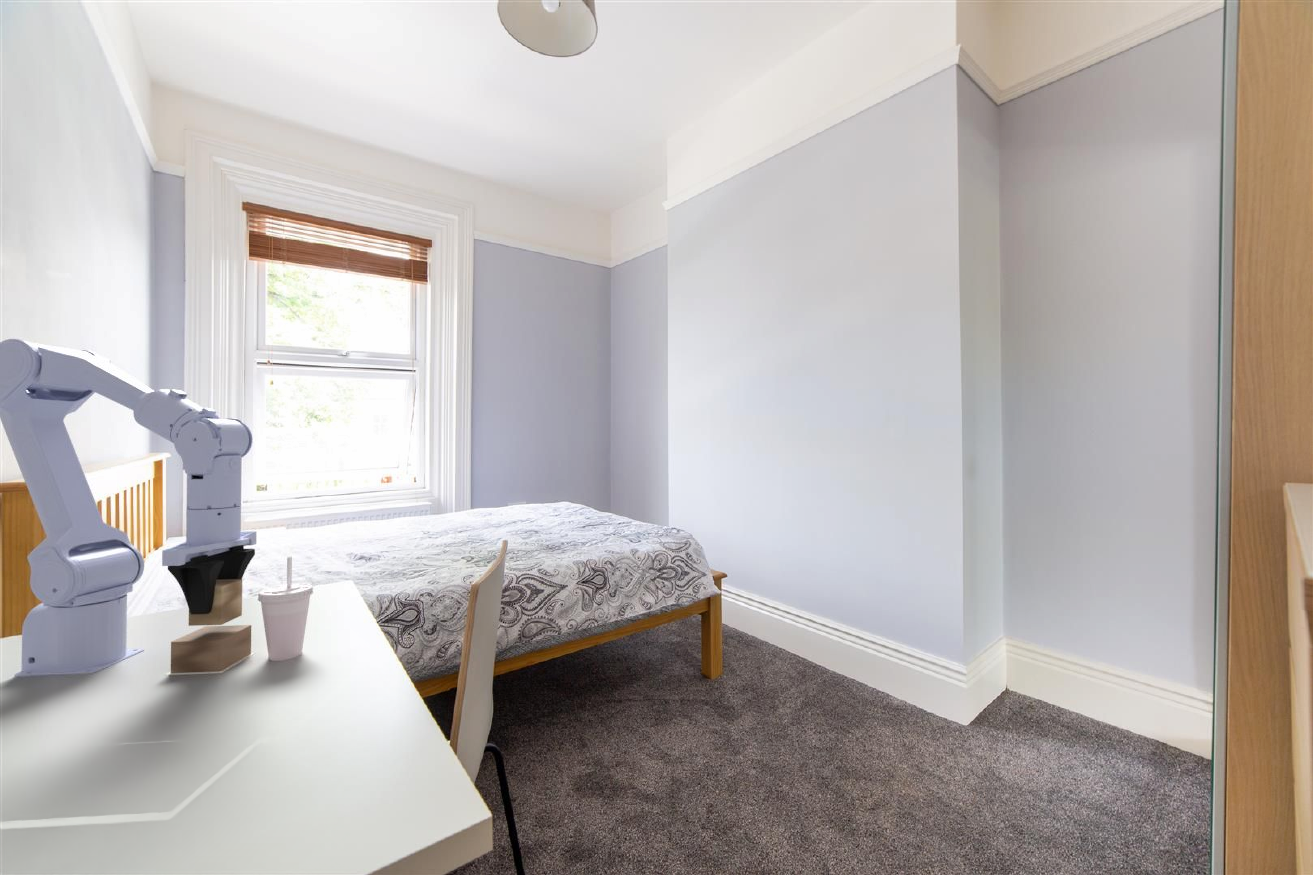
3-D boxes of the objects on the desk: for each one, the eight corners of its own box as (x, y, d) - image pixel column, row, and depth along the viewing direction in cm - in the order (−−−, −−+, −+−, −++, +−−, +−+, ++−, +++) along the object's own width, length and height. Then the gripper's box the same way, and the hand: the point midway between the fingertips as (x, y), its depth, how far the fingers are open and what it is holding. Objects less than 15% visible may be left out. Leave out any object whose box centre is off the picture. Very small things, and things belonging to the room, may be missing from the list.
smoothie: (323, 650, 78) (324, 553, 78) (289, 668, 72) (289, 563, 72) (282, 649, 79) (283, 552, 79) (244, 666, 72) (245, 562, 73)
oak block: (221, 624, 71) (221, 586, 71) (188, 625, 71) (189, 587, 71) (241, 615, 75) (242, 579, 75) (211, 616, 75) (211, 579, 75)
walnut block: (170, 673, 69) (170, 641, 69) (205, 655, 75) (205, 626, 75) (220, 671, 70) (220, 640, 70) (251, 653, 76) (251, 624, 76)
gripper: (206, 513, 66) (205, 625, 66) (278, 501, 80) (277, 592, 80) (144, 514, 65) (142, 626, 65) (227, 501, 80) (227, 594, 80)
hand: (213, 608), depth 73 cm, fingers closed on oak block, 4 cm apart
